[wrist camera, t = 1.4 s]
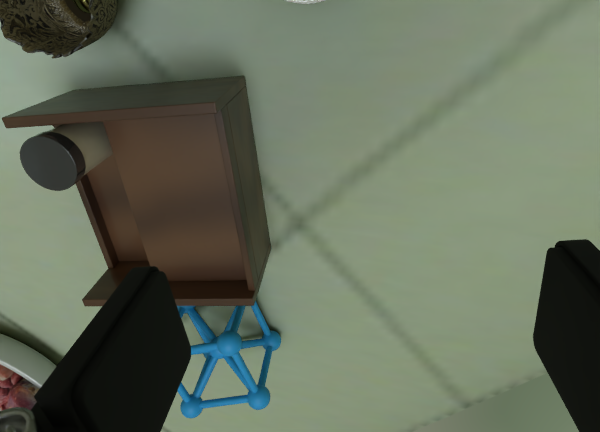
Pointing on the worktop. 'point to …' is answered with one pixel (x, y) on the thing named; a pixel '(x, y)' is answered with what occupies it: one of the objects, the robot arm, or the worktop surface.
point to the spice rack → (172, 186)
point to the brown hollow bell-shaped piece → (56, 24)
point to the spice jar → (65, 154)
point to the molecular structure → (228, 361)
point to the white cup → (304, 1)
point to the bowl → (21, 373)
